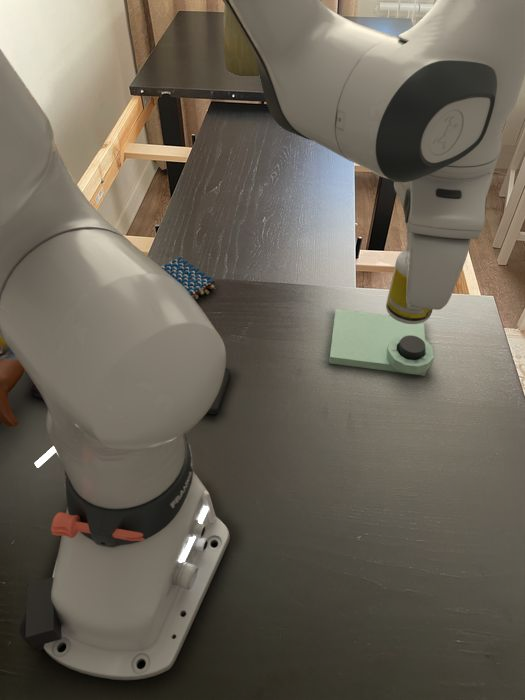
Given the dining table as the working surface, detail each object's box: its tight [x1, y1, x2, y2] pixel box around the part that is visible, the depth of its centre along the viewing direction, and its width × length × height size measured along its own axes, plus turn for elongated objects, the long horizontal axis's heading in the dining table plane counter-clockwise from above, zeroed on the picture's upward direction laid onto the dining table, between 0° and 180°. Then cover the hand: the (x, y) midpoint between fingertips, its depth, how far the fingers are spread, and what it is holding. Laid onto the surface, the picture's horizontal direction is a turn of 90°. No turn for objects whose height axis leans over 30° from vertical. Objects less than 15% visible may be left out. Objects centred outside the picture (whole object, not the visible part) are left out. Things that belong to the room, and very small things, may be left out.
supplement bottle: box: [385, 240, 433, 324], centre depth 61 cm, size 5×5×10 cm
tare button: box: [398, 336, 425, 360], centre depth 77 cm, size 4×4×2 cm
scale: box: [328, 308, 435, 377], centre depth 81 cm, size 12×15×3 cm
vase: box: [222, 4, 260, 76], centre depth 156 cm, size 17×17×27 cm
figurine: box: [0, 336, 25, 428], centre depth 77 cm, size 20×10×30 cm
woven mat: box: [160, 256, 215, 300], centre depth 91 cm, size 10×11×2 cm
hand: (413, 286), depth 61 cm, fingers closed on supplement bottle, 5 cm apart
